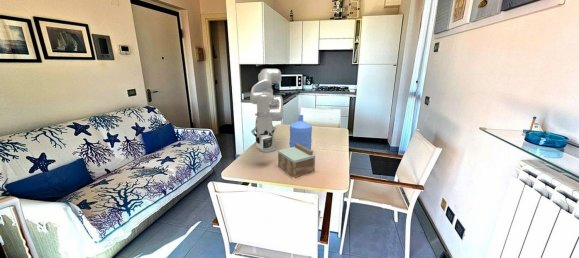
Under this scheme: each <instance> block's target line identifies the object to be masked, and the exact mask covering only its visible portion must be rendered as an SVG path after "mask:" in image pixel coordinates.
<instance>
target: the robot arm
mask: <svg viewBox="0 0 579 258" xmlns="http://www.w3.org/2000/svg"><path fill="white" fill-rule="evenodd" d="M257 78H258V82H257V83H255V84H254V85H253V86H252V87H251V90H250V95H249V99H250V100H249V101H250V103H251V104H253V105H256V113H254V115H255V116H256V118H255V124H254V125H255V127H254V128H253V129H252V130H251V131H250V132H251V134H252V135H253V136H254V137H255V143H256V142H257V143H258V144H259V143H260V140H259V135H260V134H263V133H264V131H266V130H267V131H268V133H269V136H272V147H270V148H267V149H264V150H263V149H261V148H258V151H259V152H263V153H272V152H274V151H276V149H277V148H276V146H275V143H274V141H275V139H274V138H275V137H274V136H275V131H276V129H277V127H276V126H274V125H273V122H281V121H283V118H284V99H283V96H282V95H280V94H274V90H273V88H272V84H280V83H281V82H282V72H281V70H280V69H278V68H262V69H261V70H260V73H258V75H257Z"/></svg>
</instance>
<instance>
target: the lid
mask: <svg viewBox="0 0 579 258" xmlns="http://www.w3.org/2000/svg"><path fill="white" fill-rule="evenodd" d="M278 153H279V154H281V155H282V156H284V157H285V158H287V159H288V160H290V161H292V162H293V163H297V162H300V161H304V160H308V159H312V158H315V159H316V154H314V150H312V149H311V150H310V149H308V148H306V147H304V146H302V145H300V144H298V143H297V144H295V147H291V148H290V147H287V148H282V149H279V150H277V154H278Z"/></svg>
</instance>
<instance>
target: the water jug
mask: <svg viewBox="0 0 579 258" xmlns="http://www.w3.org/2000/svg"><path fill="white" fill-rule="evenodd" d="M312 131H313V125H312V124H310V123H308V122H306V121H304V115H303V114H299V115H298V120H297V121H295V122H293V123H290V125H289V148H291V147H295V144H297V143H298V144H300V145H302V146H304V147H306V148H308V149H310V150H312V135H313V134H312V133H313V132H312Z"/></svg>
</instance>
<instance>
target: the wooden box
mask: <svg viewBox="0 0 579 258" xmlns="http://www.w3.org/2000/svg"><path fill="white" fill-rule="evenodd" d="M277 155H278V156H277V159H278V160H277V166H278V167H279V168H280V169H281V170H283V171H284V172H286V174H288V175H289V176H290V177H292V178H294V179H295V178H297V177H301V176H305V175H308V174H311V173H314V172H315V168H316V167H315V165H316V164H315V163H316V157H315V158H312V159H308V160H304V161H300V162H297V163H293V162H292V161H290V160H288V159H287V158H285V157H284V156H282V155H281V154H279V153H278V152H277Z"/></svg>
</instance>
